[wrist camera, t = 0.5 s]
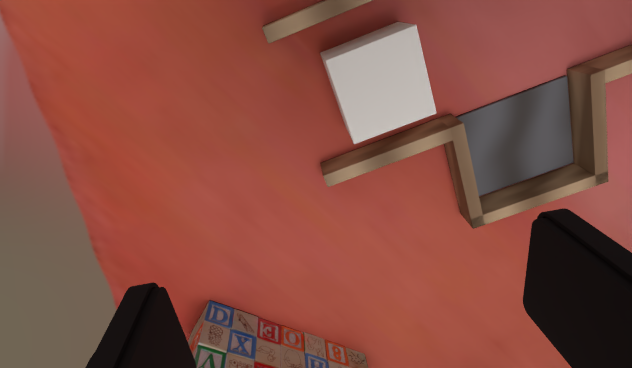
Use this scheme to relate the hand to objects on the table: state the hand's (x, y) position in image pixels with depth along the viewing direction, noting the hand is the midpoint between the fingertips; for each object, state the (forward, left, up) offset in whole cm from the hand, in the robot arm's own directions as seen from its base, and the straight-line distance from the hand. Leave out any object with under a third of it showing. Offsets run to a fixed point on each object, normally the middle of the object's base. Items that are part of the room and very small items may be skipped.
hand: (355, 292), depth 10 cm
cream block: (-6, +1, -27) cm, 27 cm away
